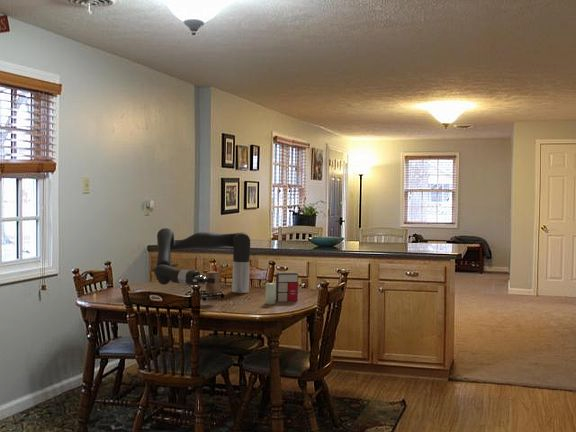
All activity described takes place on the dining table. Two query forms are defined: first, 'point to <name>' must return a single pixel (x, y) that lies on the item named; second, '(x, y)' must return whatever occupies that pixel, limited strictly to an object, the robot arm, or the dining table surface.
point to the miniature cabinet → (286, 287)
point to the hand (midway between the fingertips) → (217, 280)
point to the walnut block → (216, 286)
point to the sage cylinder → (270, 293)
